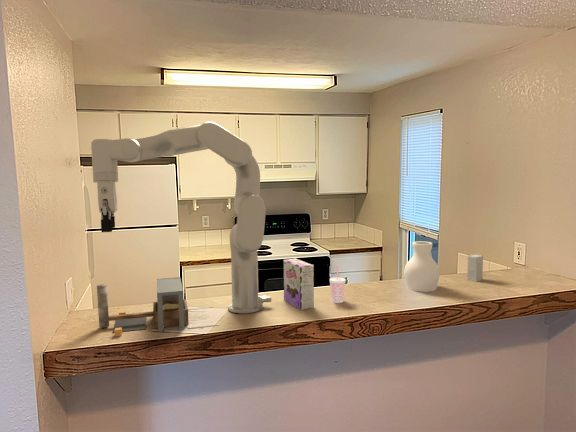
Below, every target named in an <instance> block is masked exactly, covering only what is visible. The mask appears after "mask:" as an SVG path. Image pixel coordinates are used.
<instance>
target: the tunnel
mask: <svg viewBox="0 0 576 432" xmlns="http://www.w3.org/2000/svg"><path fill="white" fill-rule="evenodd" d="M156 297H157V298H156V302H157V304H158V332H164V327H163V305H162V301H172V300H179V325H178V326H179V330H185V325H184V300H183V299H184V289H183V283H182V278H181V277H180V276H179V277H178V276H177V277H168V278H167V277H165V278H157V279H156ZM201 308H202V309H210V308H213V306H204V307H196V308H195V307H193V308H188V311H191V309H193V310H201ZM122 314H127V311H126V310H119V311H118V315H122ZM147 318H148V317H143V318H133V319H123V320H114V321H115V322H114V325H113V329H112V332H111V333H112V334H114V337H122V335H123V332H125V333H126V332H132V331H141V330H146V329H147ZM217 326H220V324H219V323H215V324H206V325H204V324H203V325H196V326H195V325H194V326H188V327H187V330H191V329H199V328H208V327H217Z"/></svg>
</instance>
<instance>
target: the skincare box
mask: <svg viewBox="0 0 576 432" xmlns="http://www.w3.org/2000/svg"><path fill="white" fill-rule="evenodd" d="M483 267H484V256H483V255H481V254H475V253H474V254H471V255H468V256H467V268H466V269H467V273H466V275H467V279H466V280H467V281H470V282H476V283H477V282H480V281H482V280H483V277H484V276H483V273H484V272H483V271H484V269H483Z"/></svg>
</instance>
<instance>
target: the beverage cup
mask: <svg viewBox="0 0 576 432" xmlns="http://www.w3.org/2000/svg"><path fill="white" fill-rule="evenodd" d="M329 283H330V285H329V286H330V298H331V301H330V302H331V303H335V304H341V303H343V302H344V298H345V285H346V284H345V283H346V278H344V277H339V266H338V265H337V266H336V277H335V276H334V277H331V278H329Z"/></svg>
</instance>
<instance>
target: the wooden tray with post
mask: <svg viewBox="0 0 576 432" xmlns="http://www.w3.org/2000/svg"><path fill="white" fill-rule="evenodd" d="M96 293H97V310H98V312H97V314H98V327H99V328H100V329H101V328H108V327H109V326H110V321H112V322H113V321H116V320H123V319H133V318H143V317H147V318H151V317H152V318H153V319H152V320H153V321H152V322H153V328H154V329H157V328H158V329H159V327H158V312H157V311H158V304H157V301H153V302H152V306H153V307H152V311H146V312H134V313H126V314H122V315H119V314H113V315H110V314H109V298H108V285H107V284H106V283H104V284H103V283H102V284H97V285H96ZM183 300H184V326H186V325H189V323H190V322H189V310H188V309H189V308H188V304H187V303H188V302H187V299H184V298H183ZM164 304H179V300H172V301H162V305H164ZM175 326H176V327H177V326H179V310H171V311H163V328H166V327H175Z"/></svg>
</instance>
